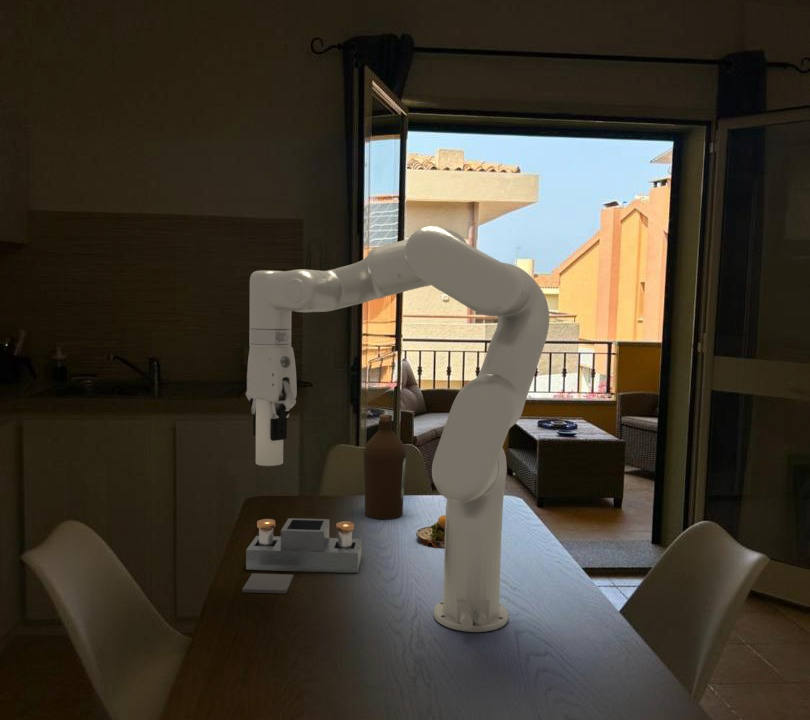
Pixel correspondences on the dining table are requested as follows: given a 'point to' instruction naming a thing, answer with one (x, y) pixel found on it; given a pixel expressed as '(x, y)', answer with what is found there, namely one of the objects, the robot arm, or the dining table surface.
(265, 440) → the cylinder
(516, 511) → the dining table surface
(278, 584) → the mat
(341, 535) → the plunger
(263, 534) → the plunger
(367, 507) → the olive oil
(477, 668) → the dining table surface
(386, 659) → the dining table surface
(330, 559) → the housing
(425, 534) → the burger
